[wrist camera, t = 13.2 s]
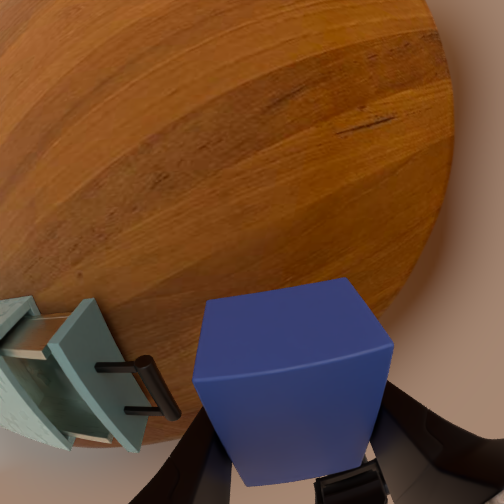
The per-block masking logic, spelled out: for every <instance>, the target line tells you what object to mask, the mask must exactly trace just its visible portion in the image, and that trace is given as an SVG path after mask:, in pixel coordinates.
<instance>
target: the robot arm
mask: <svg viewBox="0 0 504 504" xmlns="http://www.w3.org/2000/svg"><path fill="white" fill-rule="evenodd" d="M370 443H371V446H372V448H373V451H374V453H375V456H376V458H375V459H374V460H371V461H369V462H368V461H367V458H366V456H365V455H364V457H363V460H362V463H361V465H360V466H359V467H356V468H353V469H349V470H345V471H342V472H338V473H334V474H329V475H327V476H325V477H322V478H316V482H315V483H314V488H315V504H388V499H387V495H389V494H391V497H392V500H393V502H394V504H504V439H485V438H482V437H479V436H477V435H475V434H473V433H471V432H468V431H466V430H464V429H462V428H460V427H458V426H456V425H454V424H452V423H451V422H449V421H447V420H445V419H443V418H442V417H440V416H438V415H437V414H436V413H434V412H432V411H431V410H430V409H427V407H425V406H423V405H422V404H421V403H419V402H418V401H416V400H415V399H413V398H412V397H410V396H409V395H408V394H406V393H405V392H403V391H402V390H400V389H399V388H398V387H396V386H395V385H393V384H392V383H391V382H389V381H388V380H387V382H386V386H385V390H384V394H383V397H382V401H381V405H380V408H379V412H378V415H377V419H376V422H375V425H374V428H373V431H372V435H371V438H370ZM231 468H232V461H231V459H230V458H229V456H228V454H227V452H226V450H225V448H224V446H223V445H222V443H221V441H220V439H219V437H218V435H217V433H216V431H215V429H214V427H213V425H212V423H211V421H210V419H209V417H208V415H207V413H206V411H205V408H204V406H202V408H201V410H200V411H199V413H198V414H197V416H196V417H195V419H194V420H193V422H192V423H191V425H190V426H189V428H188V429H187V431H186V432H185V434H184V435H183V437H182V438H181V440H180V441H179V443H178V445H177V446H176V447H175V449H174V450H173V452H172V453H171V455H170V457H168V459H167V460H166V462H165V463H164V465H163V466H162V467H161V469H160V470H159V471H158V473H157V474H156V475H155V476H154V478H152V479H151V481H150V482H149V483H148V484H147V485H146V486H145V487H144V488H143V489H142V490H141V491H140V492H139V493H138V494H137V496H135V497H134V499H133V500H132V501H131V502H129V504H229V501H230V484H231Z"/></svg>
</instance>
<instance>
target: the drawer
mask: <svg viewBox="0 0 504 504" xmlns="http://www.w3.org/2000/svg"><path fill="white" fill-rule="evenodd" d="M0 354H1V356H2V358H3V359H4V361H5V362H6V364H7V366H8V367H9V369H10V370H11V372H12V373H13V375H14V376H15V377H16V379H17V380H18V382H19V383H20V384H21V386H22V387H23V389H24V390H25V391H26V393H27V394H28V395H29V396H30V398H31V399H32V400H33V402H34V403H35V404H36V405H37V407H38V408H39V409H40V410H41V411H42V413H43V414H44V415H45V416H46V417H47V418H48V420H49V421H50V422H51V423H52V424H53V425H54V426H55V427H56V428H57V429H58V431H59V432H60V433H61V434H64V435H68V436H73V437H77V438H82V439H87V440H93V441H98V442H105V443H112V440H113V436H114V437H115V438H116V439H117V441H118V442H119V443H120V444H121V445H122V446H123V447H124V448H125V449H126V450H127V451H128V452H135V453H139V452H140V448H141V444H142V440H143V436H144V432H145V428H146V424H147V420H148V416H165V418H166V419H167V420H169V421H176V420H178V419H179V418H180V417H181V414H182V413H181V410H180V408H179V407H178V405H177V403H176V401H175V400H174V398H173V396H172V394H171V392H170V391H169V389H168V387H167V385H166V383H165V381H164V379H163V377H162V375H161V373H160V371H159V369H158V368H157V366H156V363H155V361H154V359H153V358H152V357H151V356H150V355H143V356H140V357H138V358H137V359H136V360H135V361H129V362H125V360H124V358H123V357H122V355H121V353H120V351H119V349H118V347H117V345H116V343H115V341H114V339H113V337H112V335H111V333H110V331H109V329H108V327H107V325H106V323H105V320H104V318H103V316H102V314H101V312H100V309H99V307H98V305H97V302H96V300H95V298H90V299H83V301H82V302H81V303H80V304H79V305H78V306H77V307H76V309H75V310H74V311H73V312H66V313H56V314H45V315H33V316H22V317H21V318H20V319H19V320H18V322H17V323H16V324H15V325H14V326H13V327H12V328H11V329H10V330H9V331H8V332H7V333H6V334H5V335H4V336H3V337H2V339H1V340H0ZM137 372H138V374H139V375H140V377H141V379H142V381H143V382H144V384H145V386H146V388H147V389H148V391H149V393H150V394H151V396H152V398H153V399H154V401H155V402H156V404H157V406H158V407H151V404H150V403H149V401H148V400H147V398H146V396H145V395H144V393H143V392H142V390H141V388H140V387H139V385H138V383H137V382H136V380H135V378H134V376H133V375H132V373H137Z"/></svg>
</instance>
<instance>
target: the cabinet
mask: <svg viewBox="0 0 504 504" xmlns="http://www.w3.org/2000/svg"><path fill="white" fill-rule="evenodd" d="M33 315H41V314H40V312H39V310H38V308H37V306H36V304H35V301H34V299H33V297H32V296H25V297H19V298H12V299H6V300H0V340H1V339H2V337H3V336H4V335H5V334H6V333H7V332H8V331H9V330H10V329H11V328H12V327H13V326H14V325H15V324H16V323H17V322H18V320H19V319H20V318H21V317H22V316H33ZM0 426H1V427H3V428H5V429H7V430H10V431H12V432H14V433H17V434H19V435H22V436H25V437H27V438H30V439H33V440H36V441H38V442H41V443H45V444H48V445H51V446H54V447H57V448H61V449H65V450H68V451H71V448H72V446H73V444H74V441H75V439H76V437H73V436H68V435H64V434H61V433H60V432H59V431H58V429H57V428H56V427H55V426H54V425H53V424H52V423H51V422H50V421H49V420H48V418H47V417H46V416H45V415H44V414H43V413H42V411H41V410H40V409H39V408H38V407H37V405H36V404H35V403H34V402H33V400H32V399H31V398H30V396H29V395H28V394H27V393H26V391H25V390H24V389H23V387H22V386H21V384H20V383H19V382H18V380H17V379H16V377H15V376H14V375H13V373H12V372H11V370H10V369H9V367H8V366H7V364H6V362H5V361H4V359H3V358H2V356H1V354H0Z"/></svg>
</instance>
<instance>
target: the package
mask: <svg viewBox="0 0 504 504" xmlns="http://www.w3.org/2000/svg"><path fill="white" fill-rule="evenodd" d="M393 349H394V343H393V341H392V340H391V338H390V337H389V336H388V334H387V333H386V331H385V330H384V328H383V327H382V326H381V324H380V323H379V321H378V320H377V318H376V317H375V316H374V314H373V313H372V312H371V310H370V309H369V307H368V306H367V305H366V303H365V302H364V301H363V299H362V298H361V296H360V295H359V294H358V292H357V291H356V290H355V288H354V287H353V286H352V284H351V283H350V282H349V280H348V279H347V278H345V277H344V278H338V279H333V280H328V281H322V282H317V283H311V284H306V285H300V286H295V287H289V288H283V289H277V290H271V291H265V292H258V293H252V294H246V295H239V296H232V297H226V298H219V299H212V300H208V301H207V302H206V307H205V312H204V317H203V322H202V327H201V333H200V338H199V344H198V349H197V355H196V360H195V366H194V372H193V377H192V382H193V384H194V387H195V389H196V391H197V393H198V395H199V398H200V400H201V402H202V404H203V406H204V408H205V411H206V413H207V415H208V417H209V419H210V421H211V423H212V425H213V427H214V429H215V431H216V433H217V435H218V437H219V439H220V441H221V443H222V445H223V446H224V448H225V450H226V452H227V454H228V456H229V458H230V459H231V461H232V463H233V464H234V466H235V468H236V470H237V472H238V473H239V475H240V477H241V478H242V480H243V482H244V484H245V485H246V486H247V487H250V486H262V485H272V484H280V483H287V482H294V481H299V480H305V479H311V478H316V477H321V476H325V475H329V474H334V473H338V472H342V471H345V470H349V469H353V468H356V467H359V466H360V465H361V463H362V460H363V457H364V455H365V452H366V449H367V446H368V443H369V441H370V438H371V435H372V431H373V428H374V425H375V422H376V419H377V415H378V412H379V408H380V405H381V401H382V397H383V394H384V390H385V386H386V382H387V377H388V373H389V368H390V364H391V359H392V354H393Z"/></svg>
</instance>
